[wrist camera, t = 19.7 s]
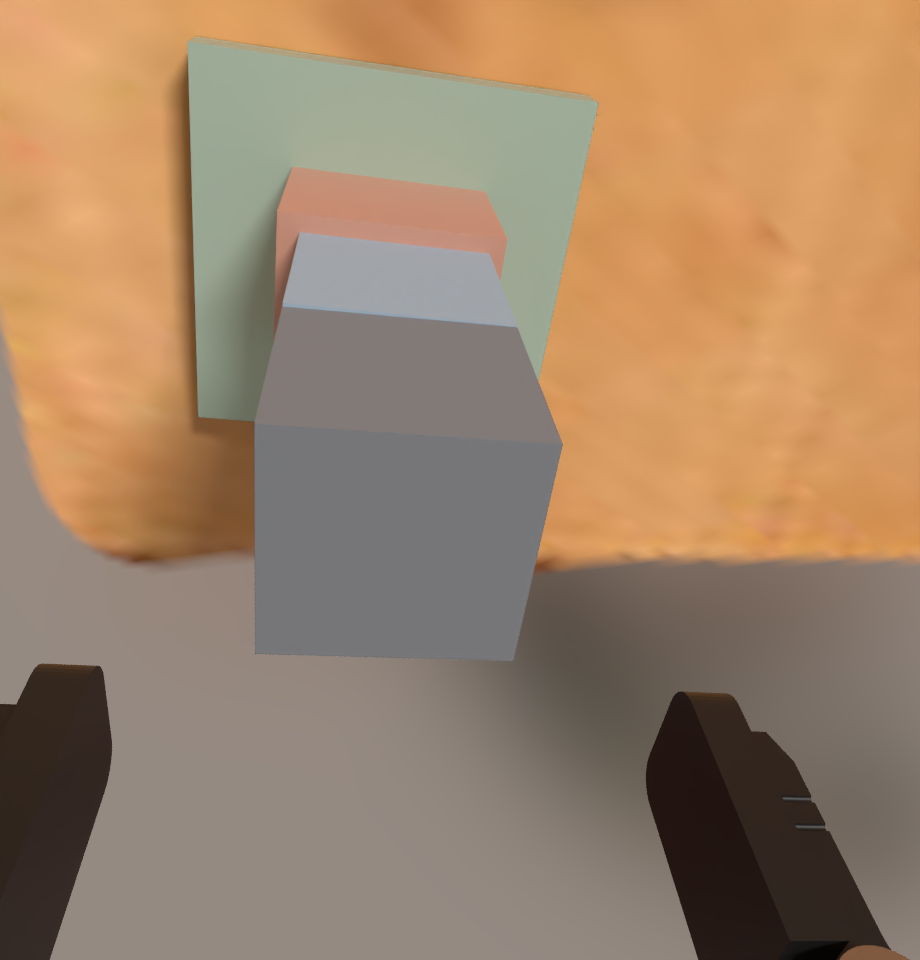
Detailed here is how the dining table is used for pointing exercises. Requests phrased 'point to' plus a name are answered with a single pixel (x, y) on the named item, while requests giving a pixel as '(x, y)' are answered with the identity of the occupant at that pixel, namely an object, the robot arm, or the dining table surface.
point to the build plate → (367, 152)
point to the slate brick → (398, 487)
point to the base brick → (382, 217)
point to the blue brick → (396, 281)
